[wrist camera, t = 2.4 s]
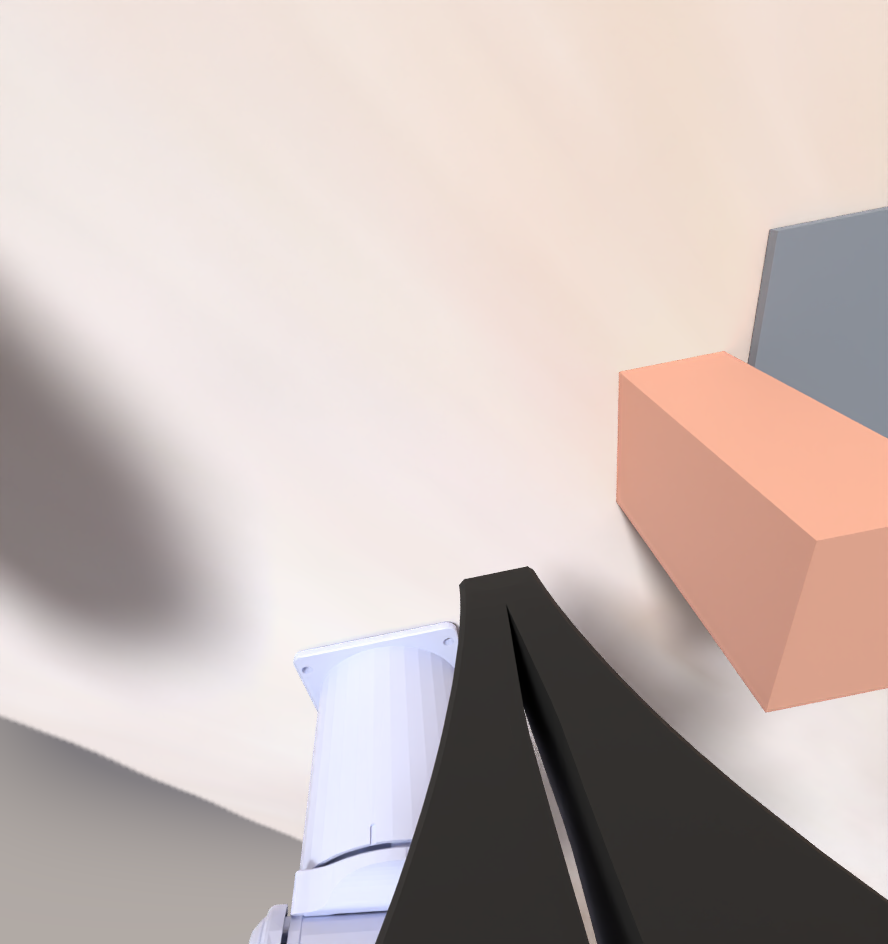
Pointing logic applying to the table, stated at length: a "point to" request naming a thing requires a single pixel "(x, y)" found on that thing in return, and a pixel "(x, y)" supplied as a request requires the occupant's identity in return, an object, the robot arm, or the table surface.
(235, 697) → the table surface
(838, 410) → the mat
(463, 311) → the table surface
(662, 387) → the block
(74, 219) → the table surface
